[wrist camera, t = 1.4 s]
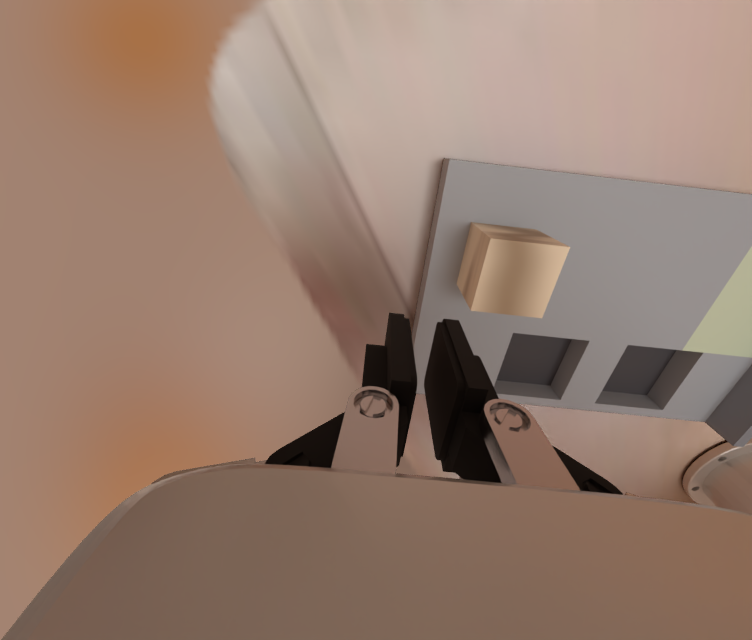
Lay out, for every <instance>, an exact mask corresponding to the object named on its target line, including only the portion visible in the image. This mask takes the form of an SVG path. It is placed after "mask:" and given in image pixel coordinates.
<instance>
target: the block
mask: <svg viewBox="0 0 752 640" xmlns="http://www.w3.org/2000/svg"><path fill="white" fill-rule="evenodd" d="M569 249H570V247H569V246H567V245H565V244H563V243H561V242H559V241H558V240H556V239H554V238H552V237H550V236H548V235H546V234H544V233H542V232H540V231H538V230H537V229H528V228H519V227H510V226H501V225H492V224H484V223H475V222H471V225H470V230H469V234H468V238H467V242H466V246H465V250H464V255H463V259H462V263H461V267H460V271H459V276H458V280H457V286H458V288H459V289H460V291H461V293H462V295H463V297H464V299H465V301H466V303H467V305H468V306H469V308H470V310H471V311H478V312H487V313H497V314H506V315H516V316H525V317H534V318H542V317H543V315H544V312H545V310H546V307H547V305H548V302H549V300H550V297H551V295H552V292H553V290H554V287H555V285H556V282H557V280H558V277H559V274H560V272H561V269H562V267H563V264H564V262H565V259H566V257H567V254H568V252H569Z"/></svg>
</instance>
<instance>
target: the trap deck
mask: <svg viewBox="0 0 752 640" xmlns="http://www.w3.org/2000/svg"><path fill="white" fill-rule="evenodd" d="M471 222H475V223H484V224H492V225H501V226H510V227H519V228H528V229H537V230H538V231H540V232H542V233H544V234H546V235H548V236H550V237H552V238H554V239H556V240H558V241H559V242H561V243H563V244H565V245H567V246H569V247H570V249H569V252H568V254H567V257H566V259H565V262H564V264H563V267H562V269H561V272H560V274H559V277H558V280H557V282H556V285H555V287H554V290H553V292H552V295H551V297H550V300H549V302H548V305H547V307H546V310H545V312H544V315H543V317H542V318H534V317H525V316H516V315H506V314H497V313H487V312H478V311H471V310H470V308H469V306H468V305H467V303H466V301H465V299H464V297H463V295H462V293H461V291H460V289H459V288H458V286H457V280H458V276H459V271H460V267H461V263H462V259H463V255H464V250H465V246H466V242H467V238H468V234H469V230H470V225H471ZM443 319H453V320H459V322H460V324H461V326H462V329H463V331H464V333H465V336H466V338H467V340H468V343H469V345H470V347H471V349H472V352H473V354H474V355H477V356H479V357H480V358H481V360H482V362H483V365H484V367H485V369H486V371H487V373H488V376H489V378H490V380H491V382H492V384H493V387H494V389H495V391H496V393H497V395H498V398H499V399H505V400H509V401H512V402H515V403H517V404H527V405H537V406H547V407H557V408H567V409H577V410H587V411H597V412H608V413H618V414H628V415H638V416H648V417H658V418H668V419H679V420H689V421H699V422H705V423H707V424H708V425H709V426H710V427H711V428H712V429H714V430H715V431H716V432H717V433H718V434H719V435H721V436H722V437H723V438H724V439H725V440H726V441H728V442H729V443H730V444H731V445H732V446H737V447H744V446H745V445H746V444H747V443H748V442H749V440H750V439H751V438H752V194H744V193H736V192H727V191H719V190H710V189H701V188H693V187H684V186H676V185H667V184H659V183H650V182H642V181H633V180H625V179H616V178H608V177H599V176H591V175H582V174H573V173H565V172H556V171H548V170H539V169H531V168H522V167H514V166H505V165H497V164H488V163H480V162H471V161H463V160H454V159H445V158H444V160H443V166H442V171H441V177H440V182H439V188H438V193H437V199H436V204H435V210H434V215H433V221H432V226H431V232H430V237H429V243H428V248H427V253H426V259H425V264H424V270H423V275H422V281H421V286H420V292H419V297H418V303H417V308H416V314H415V319H414V325H413V330H412V343H413V350H414V357H415V364H416V372H417V391H416V394H425V389H424V379H425V374H426V369H427V365H428V360H429V356H430V351H431V347H432V342H433V338H434V333H435V329H436V325H437V322H442V320H443Z"/></svg>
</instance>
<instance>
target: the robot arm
mask: <svg viewBox="0 0 752 640" xmlns="http://www.w3.org/2000/svg"><path fill="white" fill-rule="evenodd" d="M424 389H425V396H426V402H427V408H428V414H429V420H430V426H431V433H432V439H433V445H434V451H435V457H436V459H437V460H441V463H442V468H443V471H445V472H455V473H456V474H458V475H459V476H460V478H459V479H452V478H441V477H430V476H418V475H406V474H396V467H397V466H398V465H399V462H400V458H401V457H402V456H403V453H404V448H405V443H406V439H407V434H408V429H409V424H410V420H411V415H412V410H413V405H414V401H415V396H416V391H417V372H416V364H415V357H414V350H413V343H412V335H411V328H410V321H409V319H407V318H404V314H395V313H389V318H388V325H387V332H386V340H385V346H380V345H371V344H366V353H365V363H364V372H363V382H362V387H361V388H359V389H357V390H355V391H354V392H353V393H352V394H351V395H350V397H349V399H348V402H347V406H346V410H345V412H344V413H342V414H340V415H338V416H337V417H335V418H333V419H331V420H330V421H328V422H326V423H324V424H323V425H321V426H319V427H317V428H316V429H314V430H312V431H310V432H309V433H307V434H305V435H303V436H301V437H300V438H298V439H296V440H294V441H293V442H291V443H289V444H287V445H286V446H284V447H282V448H280V449H279V450H277V451H276V452H275V453H273V454H272V455H271V456H270V457H269V458H268V460H265V461H259V462H256V461H255V458H251V459H245V460H239V461H234V462H228V463H222V464H217V465H210V466H204V467H199V468H193V469H187V470H182V471H176V472H173V473H170V474H167V475H164V476H162V477H161V478H159V479H157V480H156V481H154V482H153V483H152V484H151V485H149V486H147V487H145V488H143V489H141V490H140V491H138V492H136V493H135V494H133V495H132V496H130V497H129V498H127V499H126V500H125V501H123V502H122V503H121V504H119V505H118V506H117V507H116V508H115V509H114V510H113V511H112V512H110V513H109V514H108V515H107V516H106V517H105V518H104V519H103V520H102V521H101V522H100V523H99V524H98V525H97V526H96V527H95V528H94V529H93V530H92V532H90V533H89V534H88V536H87V537H86V538H85V539H84V540H83V541H82V542H81V543H80V544H79V546H78V547H77V548H76V549H75V550H74V551H73V552H72V554H71V555H70V556H69V557H68V558H67V559H66V560H65V562H64V563H63V564H62V565H61V566H60V568H59V569H58V570H57V571H56V572H55V574H54V575H53V576H52V577H51V579H50V580H49V581H48V582H47V583H46V584H45V586H44V587H43V588H42V589H41V590H40V592H39V593H38V594H37V595H36V597H35V598H34V599H33V600H32V602H31V603H30V604H29V605H28V606H27V608H26V609H25V610H24V611H23V613H22V614H21V615H20V617H19V618H18V619H17V620H16V622H15V623H14V624H13V626H12V627H11V628H10V629H9V631H8V632H7V633H6V635H5V636H4V637H3V638H2V639H1V640H752V438H751V439H750V440H749V442H748V443H747V444H746V445H745V446H744V447H737V446H732V445H731V444H730V443H729V442H726V443H724V444H721V445H719V446H717V447H715V448H713V449H711V450H709V451H708V452H706V453H705V454H703V455H702V456H700V457H699V458H698V459H697V460H695V461H694V462H693V463H692V464H691V466H690V467H689V468H688V469H687V471H686V473H685V475H684V478H683V488H684V490H685V492H686V493H687V494H688V495H689V496H690V497H691V499H692V500H693V501H695V502H696V503H698V504H695V503H687V502H680V501H673V500H665V499H656V498H646V497H639V496H636V495H633V494H630V493H627V492H626V493H625V495H623V494H622V493H621V492H620V491H619V490H618V489H617V488H616V487H615V486H614V485H613V484H611V483H610V482H609V481H607V480H606V479H604V478H603V477H601V476H599V475H598V474H596V473H595V472H593V471H592V470H590V469H588V468H587V467H585V466H584V465H582V464H580V463H579V462H577V461H576V460H574V459H573V458H571V457H569V456H568V455H566V454H565V453H563V452H562V451H560V450H558V449H557V448H555V447H554V446H552V445H551V443H550V442H549V440H548V439H547V437H546V436H545V434H544V432H543V431H542V429H541V428H540V426H539V425H538V423H537V421H536V420H535V418H534V417H533V416H532V415H531V413H530V412H529V411H528V410H526V409H525V408H524V407H523V406H521V405H519V404H517V403H515V402H512V401H509V400H505V399H499V398H498V395H497V393H496V391H495V389H494V387H493V384H492V382H491V380H490V378H489V376H488V373H487V371H486V369H485V367H484V365H483V362H482V360H481V358H480V357H479V356H477V355H474V354H473V352H472V349H471V347H470V345H469V343H468V340H467V338H466V336H465V333H464V331H463V329H462V326H461V324H460V322H459V320H453V319H443V320H442V322H437V325H436V329H435V333H434V338H433V342H432V347H431V351H430V356H429V360H428V365H427V369H426V374H425V379H424Z"/></svg>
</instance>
